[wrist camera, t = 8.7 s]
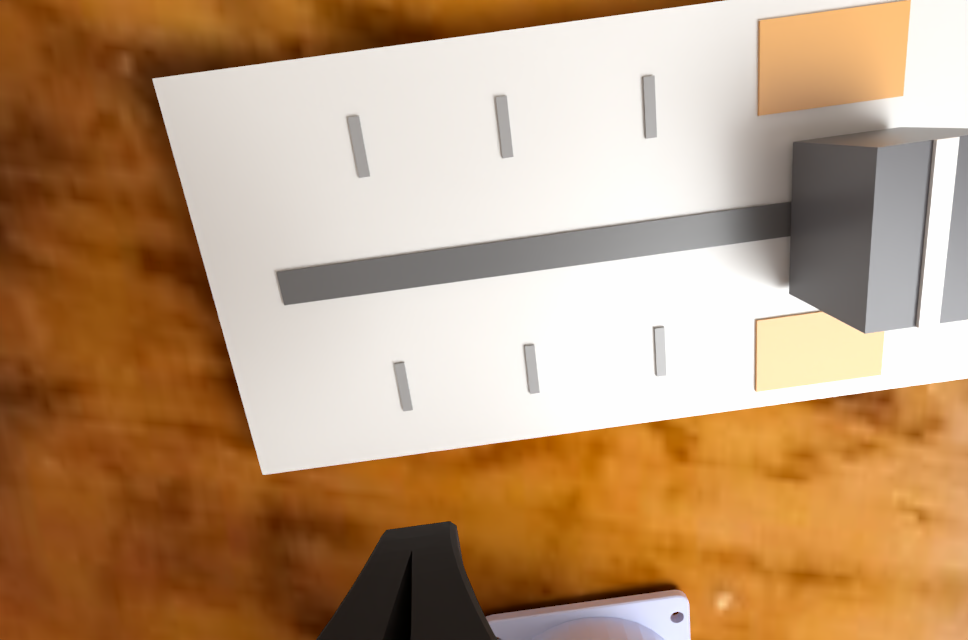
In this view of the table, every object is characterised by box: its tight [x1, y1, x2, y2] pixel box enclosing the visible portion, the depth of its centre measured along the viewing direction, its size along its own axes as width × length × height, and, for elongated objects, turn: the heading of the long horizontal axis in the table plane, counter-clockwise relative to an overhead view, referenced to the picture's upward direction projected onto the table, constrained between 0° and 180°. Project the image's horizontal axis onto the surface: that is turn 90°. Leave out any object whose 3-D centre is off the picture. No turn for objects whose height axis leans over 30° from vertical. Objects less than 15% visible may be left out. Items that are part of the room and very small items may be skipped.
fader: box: [789, 127, 968, 334], centre depth 16 cm, size 4×3×4 cm
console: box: [152, 0, 968, 475], centre depth 19 cm, size 12×26×2 cm, turn 97°
